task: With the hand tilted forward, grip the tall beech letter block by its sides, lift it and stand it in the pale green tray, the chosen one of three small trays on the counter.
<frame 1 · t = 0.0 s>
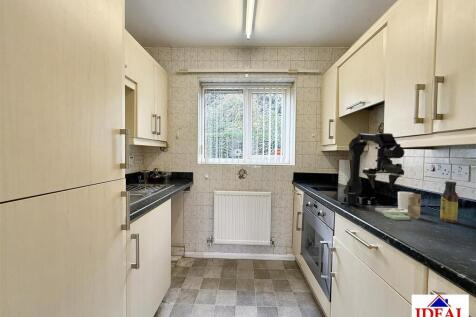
hand: (382, 188, 122), 15 cm above the counter, tool pointing down, fingers open, 9 cm apart
letter block: (413, 217, 123), on the counter
tray grey 2: (402, 212, 132), on the counter
white cup: (405, 209, 140), on the counter
tray green: (396, 217, 121), on the counter
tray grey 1: (386, 212, 131), on the counter
sauce bottle: (448, 221, 116), on the counter
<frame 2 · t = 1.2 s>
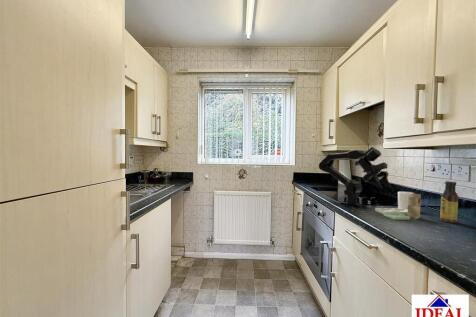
hand: (386, 187, 133), 13 cm above the counter, tool tilted 45°, fingers open, 9 cm apart
nothing on the counter moved.
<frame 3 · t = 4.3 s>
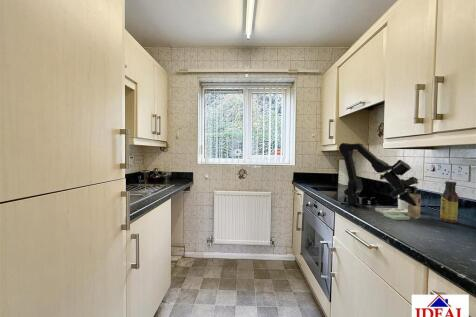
hand: (417, 205, 121), 7 cm above the counter, tool tilted 45°, fingers closed on letter block, 4 cm apart
letter block: (413, 217, 123), on the counter, touching gripper
everything else where it was.
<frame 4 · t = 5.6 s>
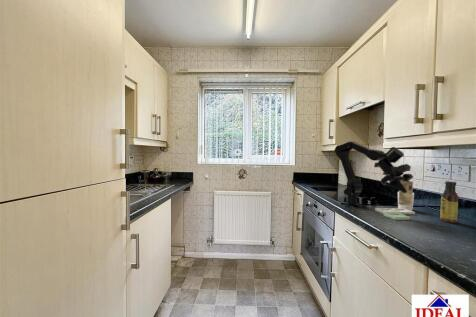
hand: (408, 192, 120), 13 cm above the counter, tool tilted 45°, fingers closed on letter block, 4 cm apart
letter block: (404, 204, 121), point 7 cm above the counter, touching gripper
everything else where it was.
when the fingers open (9 cm above the counter, at t = 7.0 s): letter block drops 1 cm, resting on tray green.
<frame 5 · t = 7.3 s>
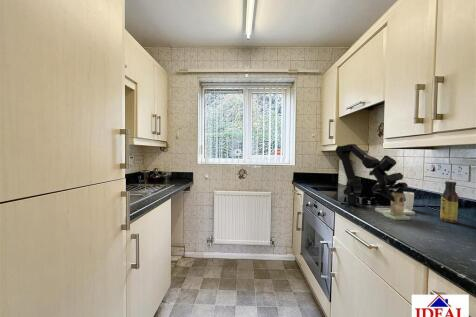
hand: (399, 201, 119), 9 cm above the counter, tool tilted 45°, fingers open, 7 cm apart
letter block: (396, 216, 121), point 1 cm above the counter, touching tray green
everything else where it was.
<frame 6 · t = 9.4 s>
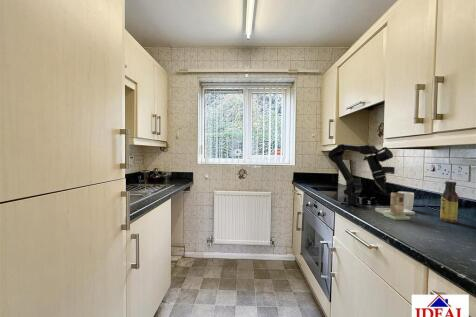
hand: (385, 191, 131), 12 cm above the counter, tool tilted 25°, fingers open, 9 cm apart
nothing on the counter moved.
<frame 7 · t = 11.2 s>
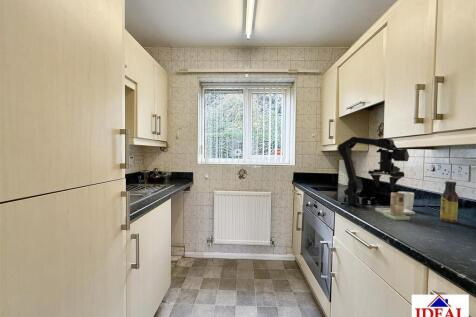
hand: (384, 188, 135), 13 cm above the counter, tool pointing down, fingers open, 9 cm apart
nothing on the counter moved.
at the end: letter block 0.0 cm off-centre on the tray green, point 0.6 cm above the tray green's base; letter block tilted 0°; the gripper is holding nothing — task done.
